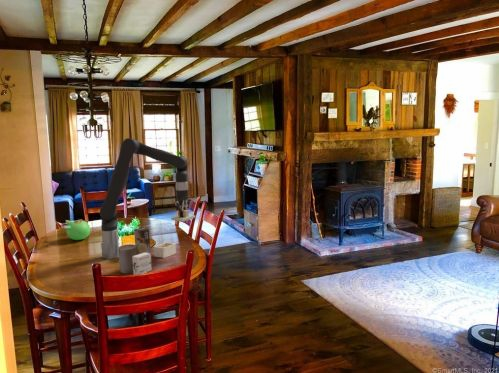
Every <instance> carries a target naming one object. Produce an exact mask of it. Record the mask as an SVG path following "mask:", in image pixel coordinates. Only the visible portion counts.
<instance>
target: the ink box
mask: <svg viewBox="0 0 499 373" xmlns="http://www.w3.org/2000/svg"><path fill="white" fill-rule="evenodd" d="M151 256H152V253H151V254H149V253H146V252H145V253H142V254H138V255H135V256H132V259H133V276H134V275H138V274H144V273H149V272H153V270H152V257H151Z"/></svg>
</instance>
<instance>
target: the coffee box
mask: <svg viewBox="0 0 499 373" xmlns="http://www.w3.org/2000/svg"><path fill="white" fill-rule="evenodd" d="M133 232H134V234H133V235H134V245H136V250H137V255H138V254H142V253H145V252H146V253H149V254H151V255H152V252H151V251H152V249H151V238H150V237H151V236H150V228H149V227H141V228H134V229H133Z"/></svg>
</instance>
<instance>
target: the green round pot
mask: <svg viewBox="0 0 499 373" xmlns="http://www.w3.org/2000/svg"><path fill="white" fill-rule="evenodd" d="M65 223H66V224H67V225H64V226H63V229H64V230H65V232H66V235H67V236H68V238H70V239H71V240H74V241H81V240H84V239H86V238H88V236H89V235H90V233H91V227H90V224H89V223H88V222H87V221H85V220H83V219H82V218H81V219H77V220H73V221H71V220H67V219H65Z"/></svg>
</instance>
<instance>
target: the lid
mask: <svg viewBox="0 0 499 373" xmlns="http://www.w3.org/2000/svg"><path fill="white" fill-rule="evenodd" d="M177 213H178V215H176V216H173V217H171V218H170V219H171V221H175V222H181V223H184V222H187V221H189V220H193V219H194V218H196V215H194V214H189V210H188V209H187V210H183V217H180V215H179V211H177Z"/></svg>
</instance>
